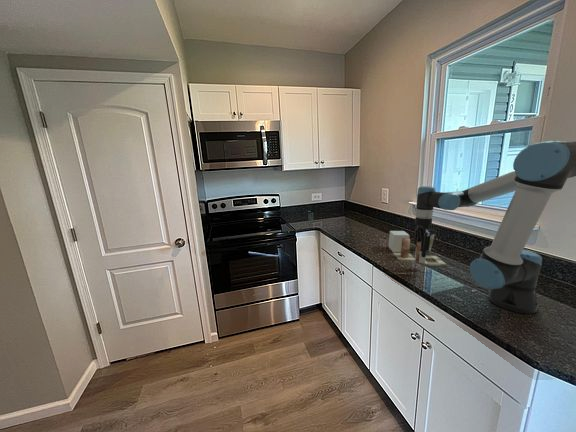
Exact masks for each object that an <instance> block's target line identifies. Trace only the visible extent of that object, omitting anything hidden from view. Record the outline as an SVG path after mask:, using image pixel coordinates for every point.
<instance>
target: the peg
mask: <svg viewBox="0 0 576 432" xmlns="http://www.w3.org/2000/svg"><path fill="white" fill-rule="evenodd" d="M420 250H421V241H418V242H417V247H416V246H415V252H416V259H415V260H414V262H415V263H416V264H418V265H422V264H425V263H419V257H420Z"/></svg>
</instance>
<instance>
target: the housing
mask: <svg viewBox="0 0 576 432" xmlns="http://www.w3.org/2000/svg"><path fill="white" fill-rule="evenodd" d="M388 236H389V237H388V249H389V250H390V251H392V253H401V245H402V238H409V239H410V234H409V233H407V232H406V231H404V230H389V235H388Z"/></svg>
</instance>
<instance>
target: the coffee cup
mask: <svg viewBox="0 0 576 432" xmlns="http://www.w3.org/2000/svg"><path fill="white" fill-rule="evenodd" d="M428 232H431V237H430V245H429V251H428V252H430V251H432V247H433V243H434V239H435V235H436V229H435V228H433V227H428Z"/></svg>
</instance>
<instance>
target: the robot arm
mask: <svg viewBox="0 0 576 432" xmlns="http://www.w3.org/2000/svg"><path fill="white" fill-rule="evenodd" d="M512 166H513V170H512V171H510V172H508V173H505V174H502V175H500V176H497V177H495V178H493V179H489V180H487V181H485V182H482V183H479V184H477V185H474V186H472V187H470V188H467V189H464V190H460V191H447V192H440V191H436V187H434V186H430V185H429V186H427V185H426V186H424V185H423V186H419V187H418V189H417V193H416V208H415V218H414V224H415V225H416V226H414V240H413V244H414V246H415V248H416V247H417V242H418V241H421V250H420V257H419V263H425V261H426V260H427V259H426V256H427V252H430V251H429V245H430V237H431V232H428V228H429V227H431V226H432V224H433V223H432V222H433V214H434V208H436V209H440V210H441V209H442V210H445V211H455V210H456V209H458V208H469V207H473V206H476V205H477V204H478V203H481V202H485V201H488V200H491V199H494V198H497V197H500V196H504V195H506V194H509V193H513V192H514V194H513V196H512V197H511V200H510V202H509V205H508V207H507V208H506V211H505V213H504V215H503V218H502V220H501V222H500V225H499V227H498V229H497V231H496V233H495V236H494V238H493V240H492V243H491V245H489V246H486V247H484V248H483V250H482V253H481V255H480V257H477V258H475V259H473V260H472V261H471V262H470V264H469V273H470V275H471V276H472V280H474V282H475V283H477V284H478V285H479V286H481V287H483V288H485V289H489V292H488V300H489V301H490V302H492V303H493V305H496V306H498V307H500V308H502V309H504V310H507V311H509V310H510V311H509V312H513V311H514V312H513V313H517V312H519V313H518V314H523V313H525V314H524V315H528V314H529V315H533V314H535V313H537V311H538V308H539V304H538V300H537V295H536V288H537V284H538V279H539V276H540V272H541V269H542V266H543V264H542V262H543V257H542V255H540V254H538V253H536V252H533V251H531V250H526V249H525V247H526V245H527V243H528V240H529V239H530V237H531V236H532V233H533V232H534V229H535V228H536V225H537V224H538V221H539V219H540V218H541V215H542V214H543V212H544V210H545V207H546V206H547V204H548V202H549V200H550V198H551V196H552V195H553V194H554V193H556V192H558V191H561V190H562V189H563V188H564V186H565V185H566V184H565V183H566V181H567V180H568V179H570V178H575V177H576V141H573V140H572V141H571V140H570V141H559V140H556V141H555V140H554V141H553V140H547V141H542V142H536V143H532V144H530V145H528V146H526V147H524V148H523V149H522V150H521V151H520V152H519V153H518V154H517V155H516V157H514V161H513V164H512ZM414 256H415V257H414V258H415V259H416V251H415V255H414Z"/></svg>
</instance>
